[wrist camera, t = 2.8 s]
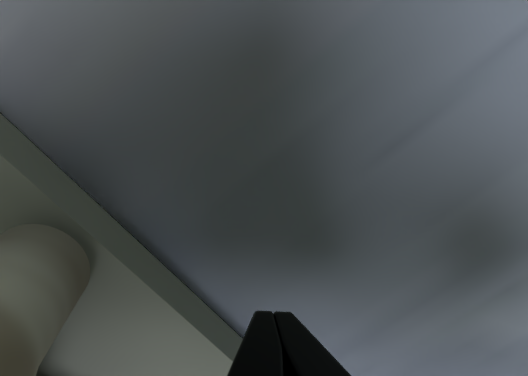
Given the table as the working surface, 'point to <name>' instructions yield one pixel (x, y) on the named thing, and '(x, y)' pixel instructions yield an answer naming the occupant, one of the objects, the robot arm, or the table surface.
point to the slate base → (110, 283)
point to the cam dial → (36, 292)
